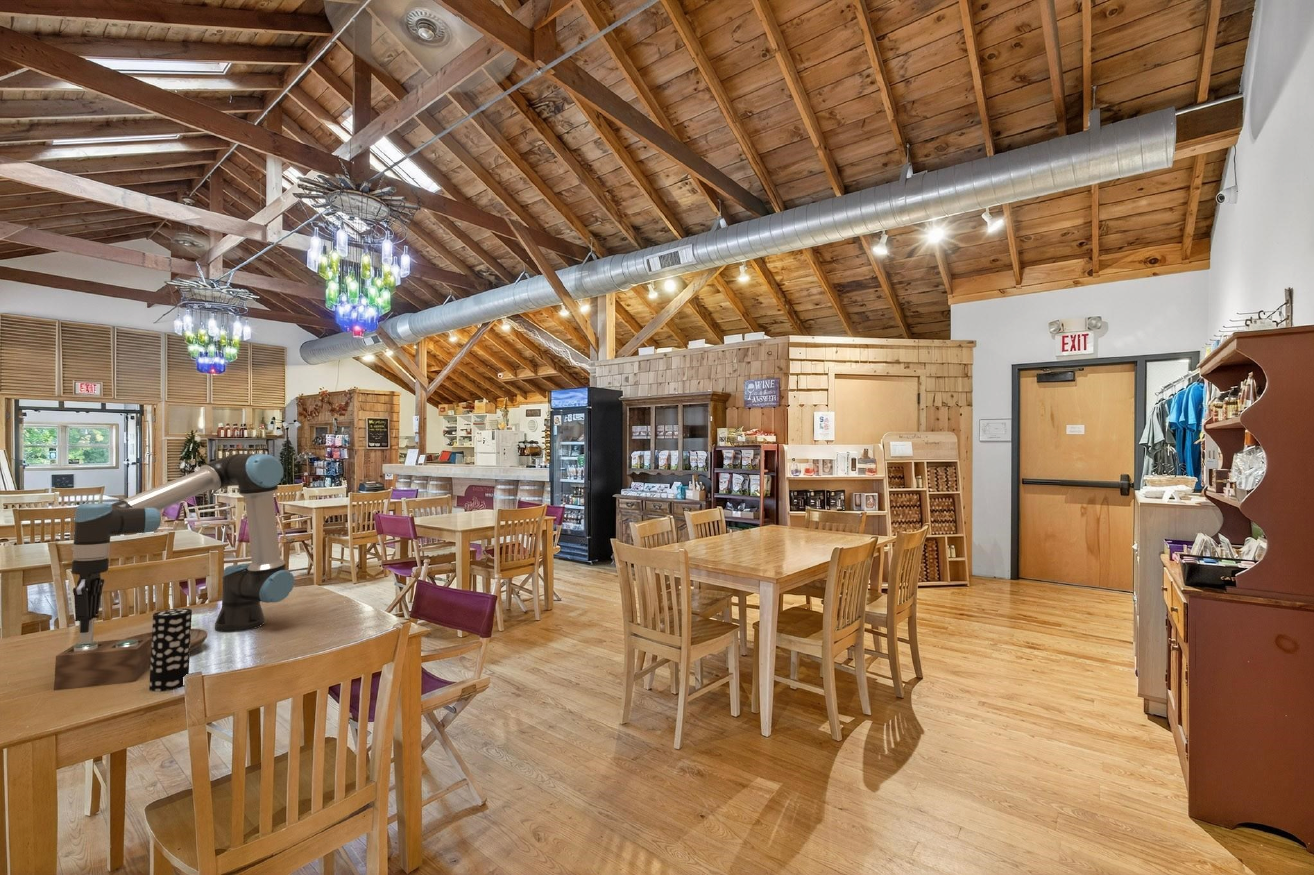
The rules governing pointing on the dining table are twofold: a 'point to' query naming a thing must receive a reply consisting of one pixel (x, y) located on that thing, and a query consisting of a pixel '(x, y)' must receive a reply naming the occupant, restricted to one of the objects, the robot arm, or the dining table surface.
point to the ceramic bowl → (195, 640)
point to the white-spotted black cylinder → (170, 649)
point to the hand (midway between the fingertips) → (85, 643)
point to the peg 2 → (127, 643)
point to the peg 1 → (86, 646)
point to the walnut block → (102, 664)
